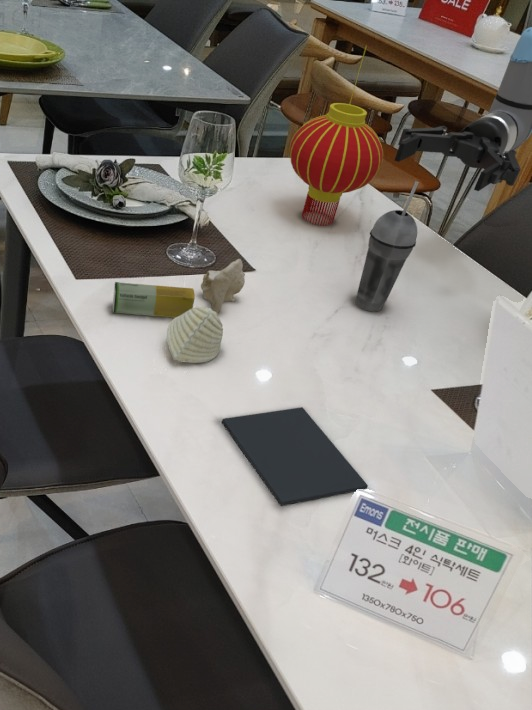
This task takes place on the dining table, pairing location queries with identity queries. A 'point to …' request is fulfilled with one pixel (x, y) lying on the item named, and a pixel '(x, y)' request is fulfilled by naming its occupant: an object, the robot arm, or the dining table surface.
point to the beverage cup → (386, 256)
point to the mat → (293, 455)
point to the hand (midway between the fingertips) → (438, 166)
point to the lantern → (335, 156)
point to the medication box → (152, 299)
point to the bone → (223, 284)
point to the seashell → (195, 335)
